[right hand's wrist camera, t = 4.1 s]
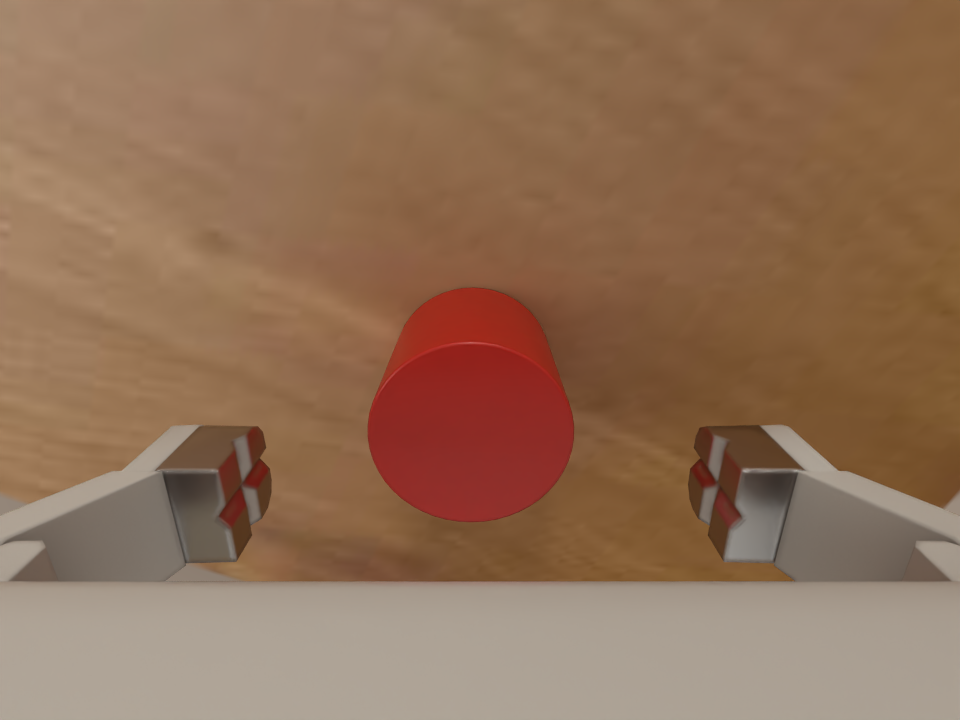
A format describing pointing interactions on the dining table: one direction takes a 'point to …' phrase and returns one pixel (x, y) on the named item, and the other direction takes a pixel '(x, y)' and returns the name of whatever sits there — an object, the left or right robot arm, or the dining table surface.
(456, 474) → the canister
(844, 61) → the dining table surface
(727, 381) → the dining table surface
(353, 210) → the dining table surface
